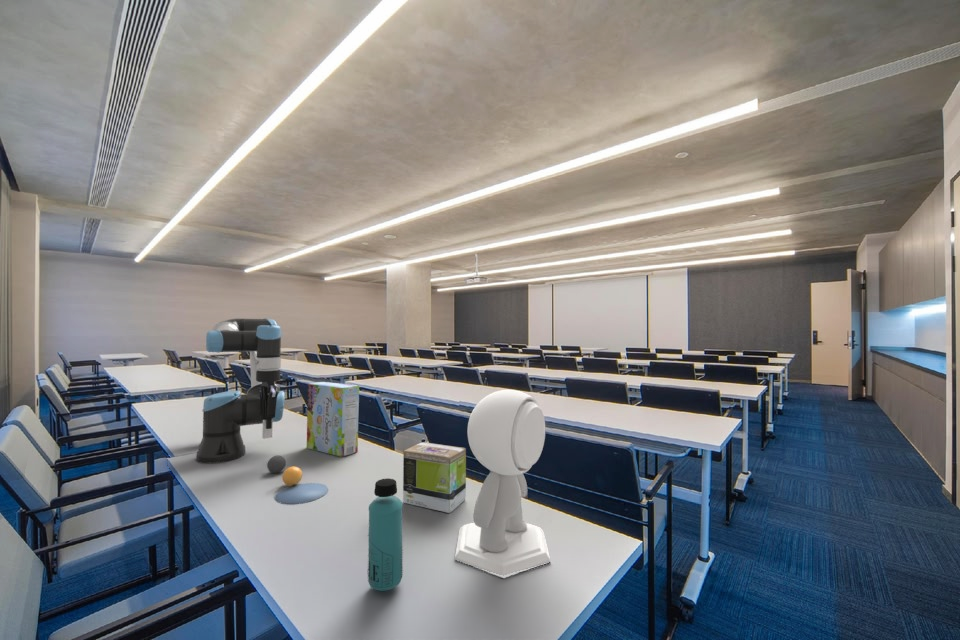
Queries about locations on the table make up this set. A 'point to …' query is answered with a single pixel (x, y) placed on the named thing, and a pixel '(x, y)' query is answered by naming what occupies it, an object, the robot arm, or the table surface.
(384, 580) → the beverage bottle
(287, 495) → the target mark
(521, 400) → the white cartoon figure
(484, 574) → the table surface
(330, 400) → the snack box
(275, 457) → the dark gray ball
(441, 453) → the tea box
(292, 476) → the object ball
